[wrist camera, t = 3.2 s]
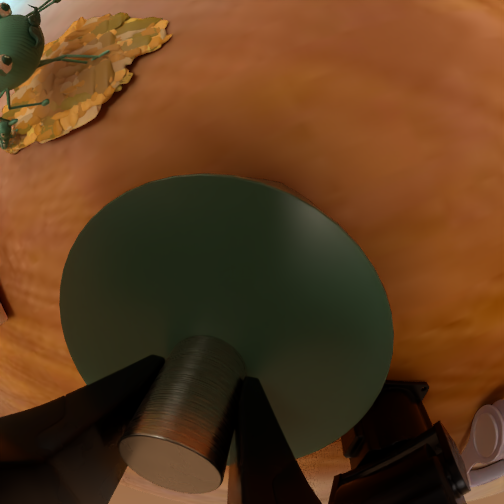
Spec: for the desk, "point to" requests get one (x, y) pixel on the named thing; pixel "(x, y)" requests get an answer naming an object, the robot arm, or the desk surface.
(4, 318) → the white bottle
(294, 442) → the bin lid
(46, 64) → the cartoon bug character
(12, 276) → the desk surface
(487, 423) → the headphones
